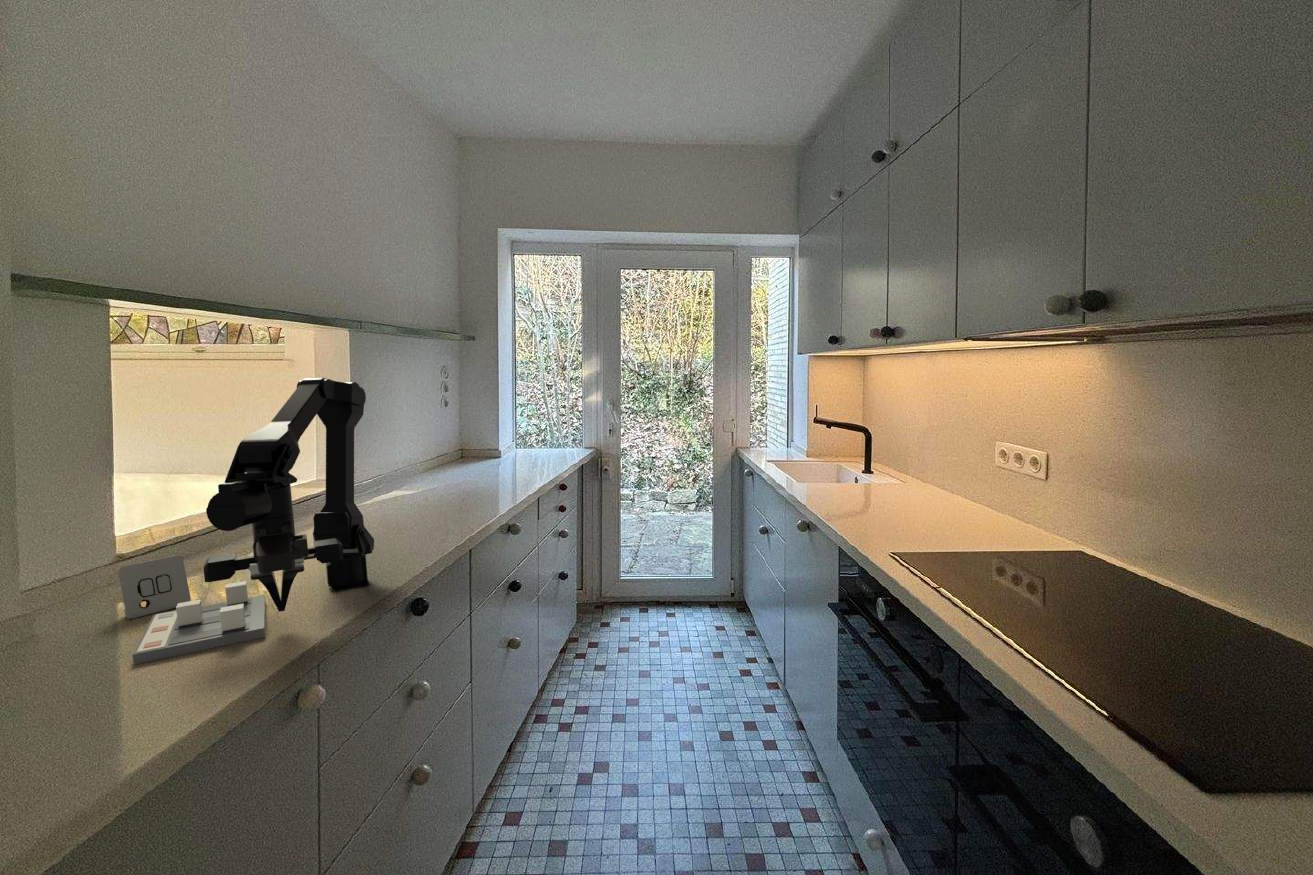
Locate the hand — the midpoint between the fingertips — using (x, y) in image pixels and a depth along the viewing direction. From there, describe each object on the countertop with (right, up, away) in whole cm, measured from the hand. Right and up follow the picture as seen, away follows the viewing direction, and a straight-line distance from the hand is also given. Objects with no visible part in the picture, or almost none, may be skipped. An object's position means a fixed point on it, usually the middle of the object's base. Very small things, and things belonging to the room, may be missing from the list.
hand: (281, 610), depth 102 cm
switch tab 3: (-6, -2, -3) cm, 7 cm away
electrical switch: (-30, -3, +11) cm, 32 cm away
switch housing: (-12, -3, +1) cm, 13 cm away
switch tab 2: (-13, -1, +9) cm, 15 cm away
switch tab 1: (-14, -2, 0) cm, 14 cm away
